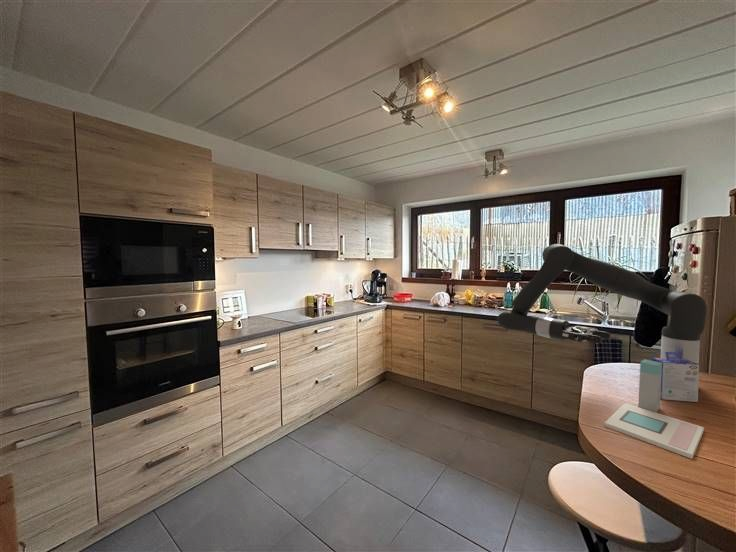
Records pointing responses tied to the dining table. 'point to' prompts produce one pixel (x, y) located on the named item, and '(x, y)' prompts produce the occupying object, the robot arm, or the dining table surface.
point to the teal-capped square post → (650, 385)
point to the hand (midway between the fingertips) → (605, 338)
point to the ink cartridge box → (678, 378)
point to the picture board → (657, 429)
